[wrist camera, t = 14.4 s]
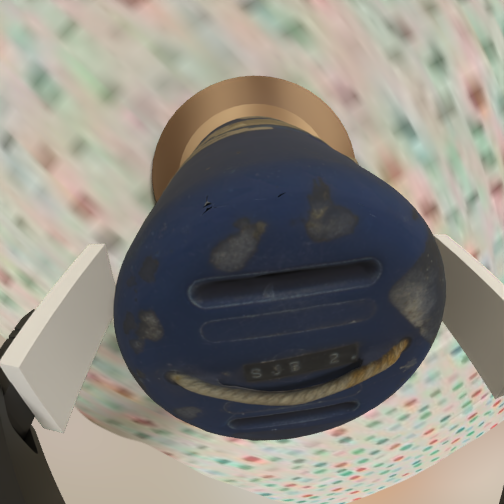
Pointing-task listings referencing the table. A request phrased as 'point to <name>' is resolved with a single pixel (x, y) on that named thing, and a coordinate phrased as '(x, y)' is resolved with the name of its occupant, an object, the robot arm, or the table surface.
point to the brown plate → (236, 106)
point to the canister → (276, 287)
